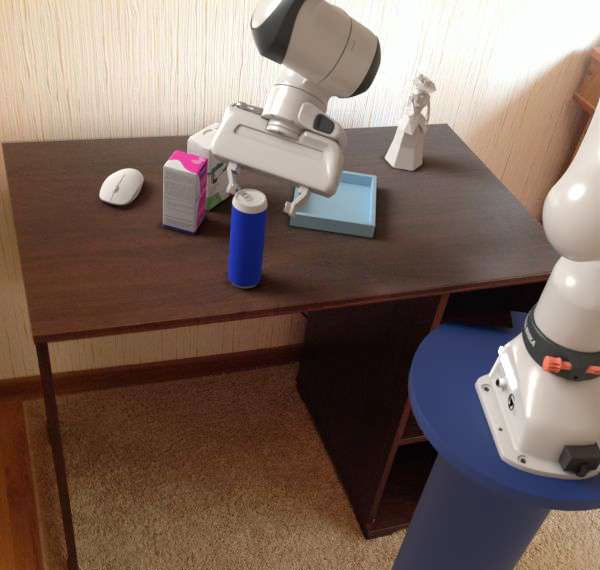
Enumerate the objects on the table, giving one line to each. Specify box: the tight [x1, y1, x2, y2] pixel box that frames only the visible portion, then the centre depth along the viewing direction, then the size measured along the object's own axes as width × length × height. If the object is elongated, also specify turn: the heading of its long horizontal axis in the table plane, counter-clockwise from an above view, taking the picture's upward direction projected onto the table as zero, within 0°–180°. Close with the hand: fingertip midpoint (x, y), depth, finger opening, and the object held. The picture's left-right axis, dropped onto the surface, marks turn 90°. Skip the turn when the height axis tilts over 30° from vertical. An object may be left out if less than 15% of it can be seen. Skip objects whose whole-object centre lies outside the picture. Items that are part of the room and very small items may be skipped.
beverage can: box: [227, 188, 269, 289], centre depth 114 cm, size 5×5×15 cm
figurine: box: [384, 72, 437, 172], centre depth 144 cm, size 7×8×18 cm
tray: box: [289, 170, 378, 239], centre depth 136 cm, size 17×15×2 cm
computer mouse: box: [98, 167, 145, 207], centre depth 130 cm, size 6×10×3 cm, turn 164°
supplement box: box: [162, 149, 208, 235], centre depth 124 cm, size 6×6×12 cm
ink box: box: [186, 122, 237, 212], centre depth 130 cm, size 9×5×12 cm, turn 149°
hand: (259, 205), depth 113 cm, fingers open, 8 cm apart
